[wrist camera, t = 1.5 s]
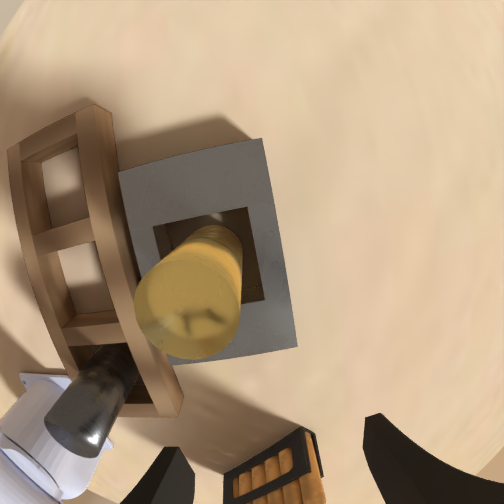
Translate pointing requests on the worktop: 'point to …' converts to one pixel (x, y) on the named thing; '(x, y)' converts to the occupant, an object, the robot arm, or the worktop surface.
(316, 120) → the worktop surface
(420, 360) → the worktop surface
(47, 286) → the walnut rack
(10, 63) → the worktop surface
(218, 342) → the brass round bar
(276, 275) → the steel socket
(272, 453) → the ammunition clip
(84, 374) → the black round bar
